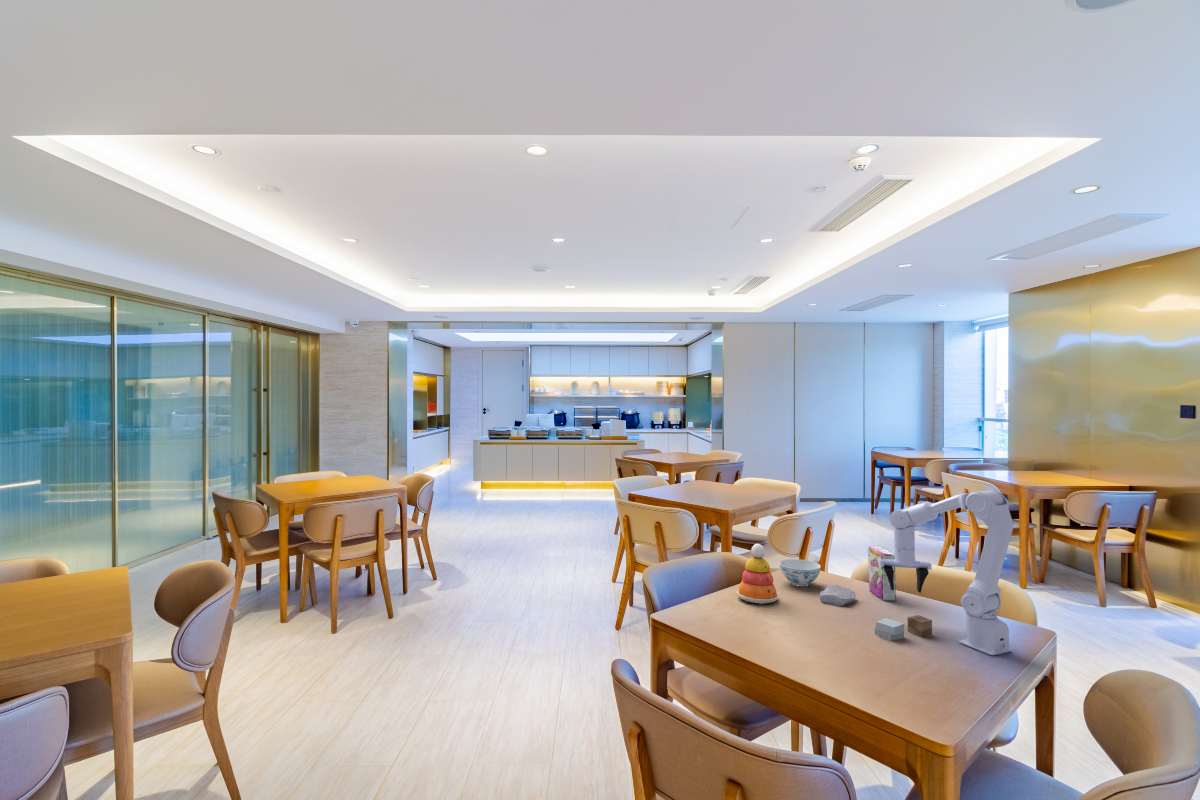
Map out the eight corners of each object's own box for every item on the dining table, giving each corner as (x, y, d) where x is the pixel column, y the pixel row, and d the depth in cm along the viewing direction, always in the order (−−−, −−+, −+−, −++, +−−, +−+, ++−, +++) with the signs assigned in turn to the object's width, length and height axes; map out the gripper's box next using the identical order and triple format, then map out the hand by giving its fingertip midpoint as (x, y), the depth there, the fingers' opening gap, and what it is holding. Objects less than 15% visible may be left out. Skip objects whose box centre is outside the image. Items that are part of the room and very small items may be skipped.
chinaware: (771, 580, 216) (771, 560, 217) (803, 577, 221) (803, 557, 221) (795, 592, 202) (795, 571, 202) (829, 588, 207) (829, 567, 207)
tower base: (904, 639, 161) (904, 631, 161) (890, 642, 159) (890, 634, 159) (888, 632, 166) (888, 625, 166) (874, 635, 164) (874, 627, 164)
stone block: (856, 604, 195) (827, 592, 201) (859, 591, 194) (830, 580, 201) (846, 614, 186) (817, 602, 192) (849, 601, 185) (819, 589, 191)
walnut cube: (932, 635, 163) (931, 620, 163) (921, 637, 161) (921, 622, 161) (918, 629, 167) (918, 615, 167) (907, 632, 165) (907, 617, 165)
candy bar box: (867, 590, 204) (867, 546, 204) (881, 591, 204) (881, 546, 204) (882, 601, 193) (881, 554, 193) (896, 601, 192) (895, 554, 193)
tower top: (904, 631, 161) (904, 623, 161) (894, 635, 158) (894, 627, 158) (886, 625, 166) (885, 617, 166) (875, 629, 163) (875, 621, 163)
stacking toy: (764, 609, 185) (763, 551, 185) (728, 598, 195) (728, 543, 196) (786, 599, 194) (785, 544, 195) (751, 590, 205) (751, 537, 205)
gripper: (926, 546, 176) (927, 588, 176) (876, 543, 180) (877, 584, 180) (933, 551, 169) (934, 595, 169) (881, 548, 174) (882, 591, 173)
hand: (905, 590), depth 174 cm, fingers open, 7 cm apart
